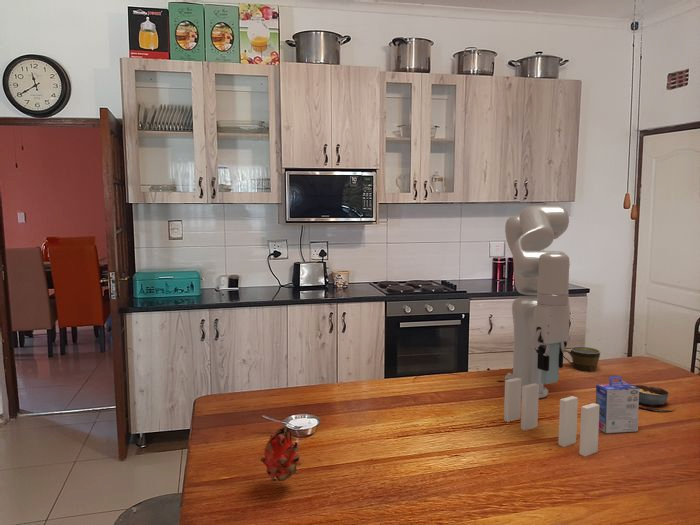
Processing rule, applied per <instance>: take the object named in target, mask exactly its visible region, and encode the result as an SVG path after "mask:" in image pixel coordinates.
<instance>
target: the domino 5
mask: <svg viewBox="0 0 700 525" xmlns="http://www.w3.org/2000/svg"><path fill="white" fill-rule="evenodd" d="M599 408H600V405H598V404H596V402H595V403H594V402H593V403H589V404H586V405H583V406H581V407H580V430H579V437H580V438H579V453H578V454H579V455H581V456H583V457H588V456H590V455H593V454H595V453H598V449H599V448H598V446H599V430H600V429H599Z"/></svg>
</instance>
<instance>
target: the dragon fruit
mask: <svg viewBox="0 0 700 525" xmlns="http://www.w3.org/2000/svg"><path fill="white" fill-rule="evenodd" d="M298 445H299V444H298V442H297V441H295V442H294V443H293V441H292V431H291V430H290V429H289V428H286V427H282V428H280V429H278V430H277V431H276V432H275V433H274V434H273V435H270V437H269V439H268V441H267V443H266V445H265V448H264V452H263V453H264V457H263V456H262V457H260V462H261V463H263V464H264V465H265V467H266V470H265V471H266V473H267V475H269V478H270V481H271V482H275V481H276V480H277V481H278V482H284V481H286V480H287V479H290V478H291V477H292V476H293V475H296V474H297V467H299V466H301V465H302V462H300V454H299V453H298V451H299V447H298Z"/></svg>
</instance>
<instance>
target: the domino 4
mask: <svg viewBox="0 0 700 525" xmlns="http://www.w3.org/2000/svg"><path fill="white" fill-rule="evenodd" d="M578 401H579V398H578V397H576V396H574V395H571V396H568V397H567V396H566V397H564V398H561V399H559V418H558V420H559V421H558V441H557V443H558V446H560V447H562V448H565V447H567V446H570V445H573V444H574V445H575V444H576V443H577V430H578V429H577V426H578V408H579V407H578Z"/></svg>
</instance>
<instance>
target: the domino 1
mask: <svg viewBox="0 0 700 525" xmlns="http://www.w3.org/2000/svg"><path fill="white" fill-rule="evenodd" d="M503 405H504V406H503V408H504V409H503V420H504V421H505V422H507V423H510V421H511V422H513V421H517V420H519V419H521V405H522V397H521V379H520V378H514V379H509V380H505V379H504V404H503Z"/></svg>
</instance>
